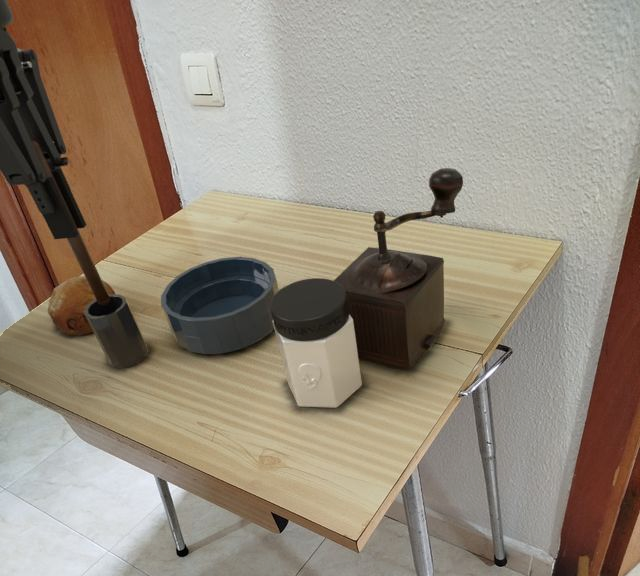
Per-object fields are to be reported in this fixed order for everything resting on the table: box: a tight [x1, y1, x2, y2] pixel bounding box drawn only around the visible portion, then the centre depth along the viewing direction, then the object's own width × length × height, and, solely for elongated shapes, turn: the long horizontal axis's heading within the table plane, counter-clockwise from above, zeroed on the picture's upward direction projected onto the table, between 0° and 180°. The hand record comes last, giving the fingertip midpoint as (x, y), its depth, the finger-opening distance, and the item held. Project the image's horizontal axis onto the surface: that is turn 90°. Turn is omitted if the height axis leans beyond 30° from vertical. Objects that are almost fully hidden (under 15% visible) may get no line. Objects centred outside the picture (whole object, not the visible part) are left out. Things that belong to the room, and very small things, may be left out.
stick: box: [30, 139, 110, 305], centre depth 68 cm, size 2×2×20 cm
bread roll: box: [47, 275, 116, 336], centre depth 88 cm, size 10×10×8 cm
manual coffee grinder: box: [333, 167, 464, 371], centre depth 69 cm, size 16×11×18 cm
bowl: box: [160, 256, 280, 355], centre depth 80 cm, size 15×15×6 cm
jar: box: [270, 277, 363, 409], centre depth 65 cm, size 9×8×12 cm
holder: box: [84, 293, 149, 369], centre depth 77 cm, size 5×6×8 cm
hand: (70, 231), depth 68 cm, fingers closed on stick, 1 cm apart
